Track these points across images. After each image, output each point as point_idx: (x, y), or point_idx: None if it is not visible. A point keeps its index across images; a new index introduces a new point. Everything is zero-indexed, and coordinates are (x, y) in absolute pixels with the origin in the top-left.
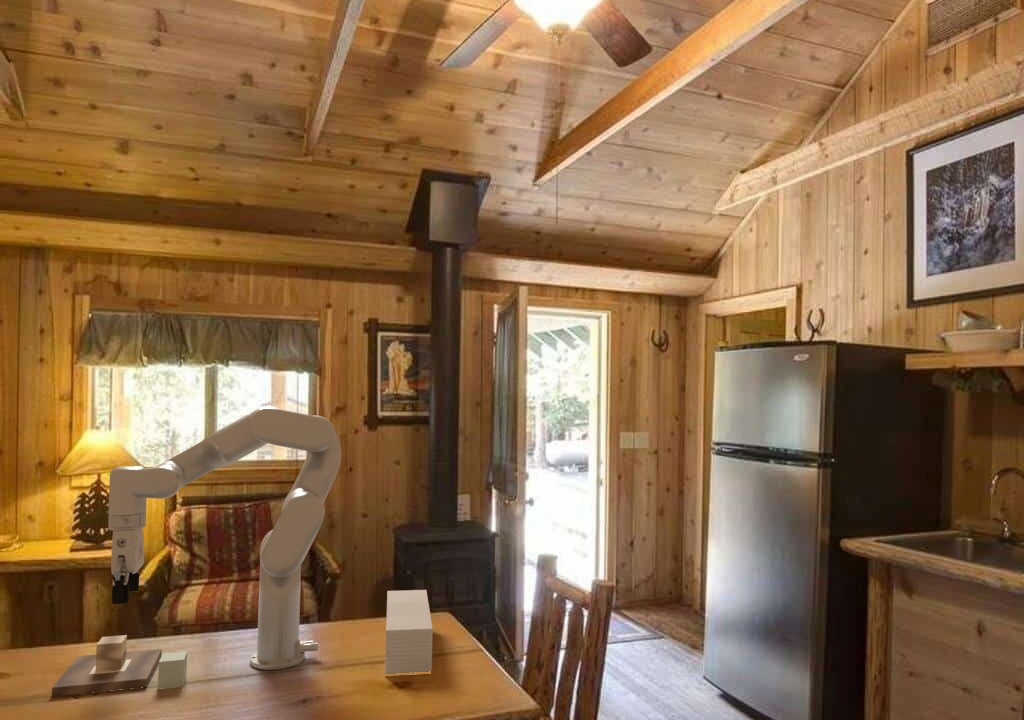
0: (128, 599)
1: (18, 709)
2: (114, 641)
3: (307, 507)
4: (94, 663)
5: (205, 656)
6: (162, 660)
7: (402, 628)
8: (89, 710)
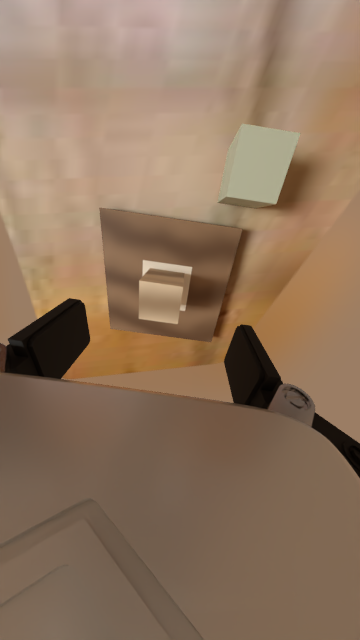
0: (248, 329)
1: None
2: (171, 299)
3: None
4: None
5: (115, 97)
6: (272, 195)
7: None
8: (274, 297)
